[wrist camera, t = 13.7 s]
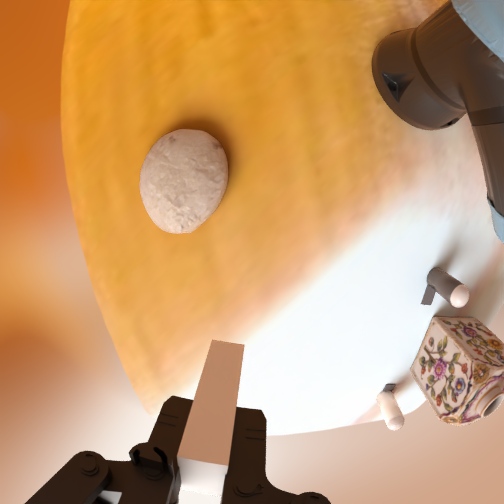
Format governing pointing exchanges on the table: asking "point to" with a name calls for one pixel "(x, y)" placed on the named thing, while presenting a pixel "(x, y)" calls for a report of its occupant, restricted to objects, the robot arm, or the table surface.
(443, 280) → the pepper shaker
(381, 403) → the salt shaker
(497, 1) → the robot arm
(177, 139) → the stone
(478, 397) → the decorative jar
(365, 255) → the table surface
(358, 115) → the table surface
